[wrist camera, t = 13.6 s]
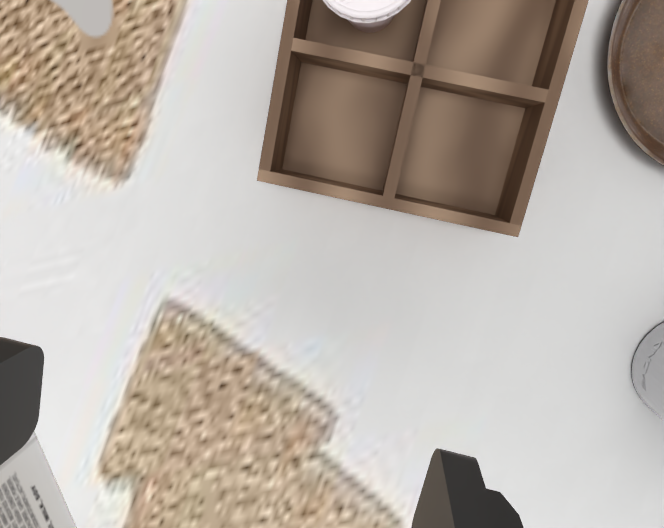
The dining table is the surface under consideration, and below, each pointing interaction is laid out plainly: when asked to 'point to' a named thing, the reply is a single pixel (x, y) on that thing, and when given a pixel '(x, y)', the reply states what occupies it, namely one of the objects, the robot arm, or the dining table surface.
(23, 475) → the white and orange box
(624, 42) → the plant saucer
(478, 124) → the bottle caddy
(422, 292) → the dining table surface
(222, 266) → the dining table surface
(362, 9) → the smoothie
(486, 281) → the dining table surface
